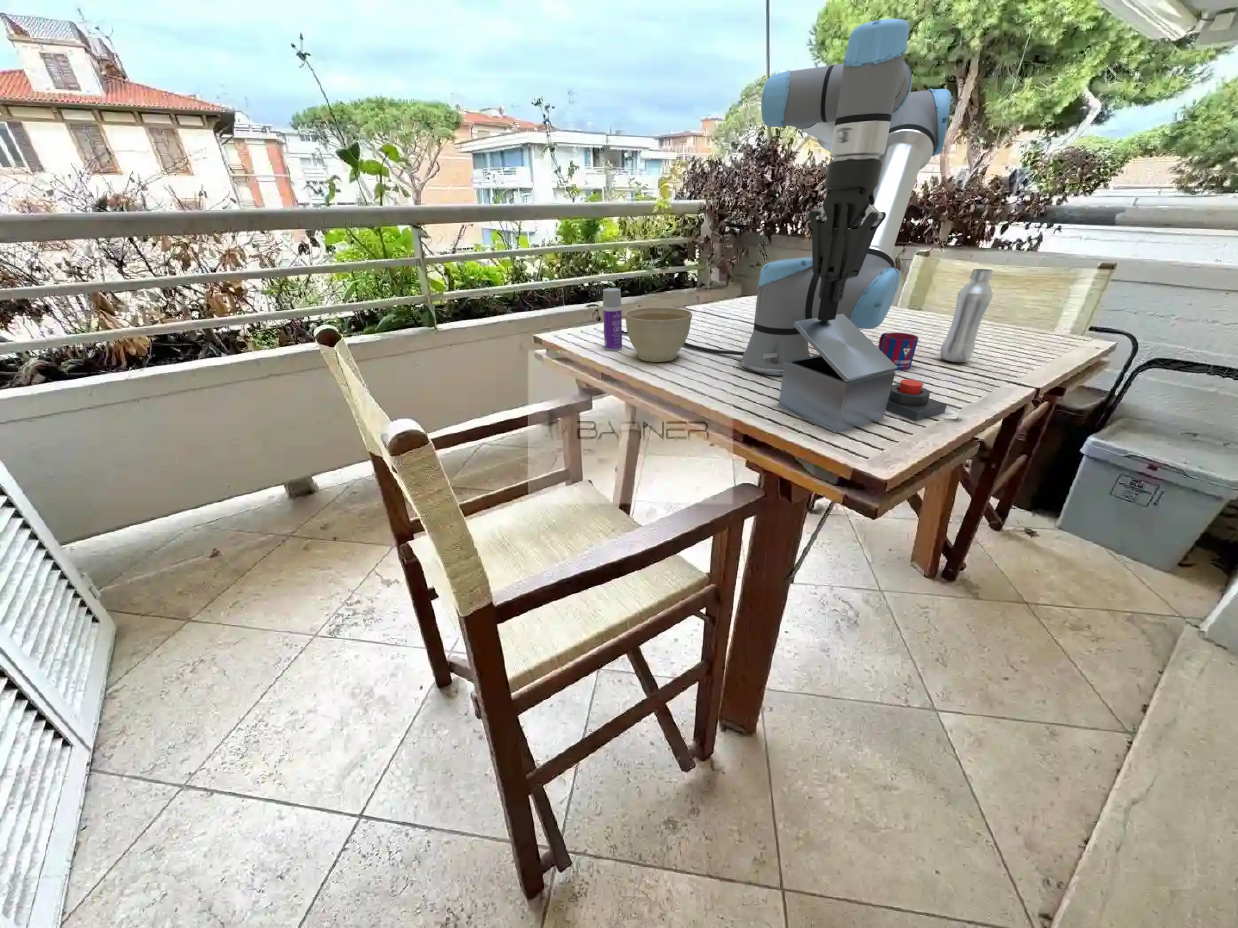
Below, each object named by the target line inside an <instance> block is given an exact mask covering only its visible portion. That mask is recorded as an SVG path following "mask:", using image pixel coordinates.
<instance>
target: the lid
mask: <svg viewBox="0 0 1238 928" xmlns="http://www.w3.org/2000/svg"><path fill="white" fill-rule="evenodd" d="M817 319H818V318H813V319H806V320H800V321H795V322H794V324H793V326H794V327H795V328H796V329H797V330H798V331H799V332H800V333H801V334H802V336H803V337H804V338H805V339H806V340H807V341H808V344H809V345H810V346H812V348H813V349H814V350H815V352H817V353H818V355H821V356H822V357H823V358H824V360H825V361H826V362H827V363H828V364H829V365H830V366H831V367H832V368H833V369H834V370H835V372H836V373H837V374H838V375H839V376H840V377H841V378H842V379H843V380H844V381H845V382H850V381H855V380H859V379H863V378H867V377H871V376H876V375H880V374H884V373H888V372H892V371H894V372H896V371H897V370H896V369H897V368H898V367H897V366H896V365H895V364H894V363H893V362H892V361H891V360H890V359H889V358H888V357H887V356H886V355H885V354H884V353H883V352H882V351H881V350H880V349H879V346H877V345H876V344H875V343H873V342H872V341H871V339H870V338H869V337H867V336H866V334H865V333H864V332H863V331H861V329H858V328H857V327H856V326H855V325H854V324H853V323H852V322H851V321H850V320H849V319H848V318H847V317H846V316H845V315H844V314H838V315H836V318H835V319H834V320H828V321H821V320H817Z"/></svg>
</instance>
